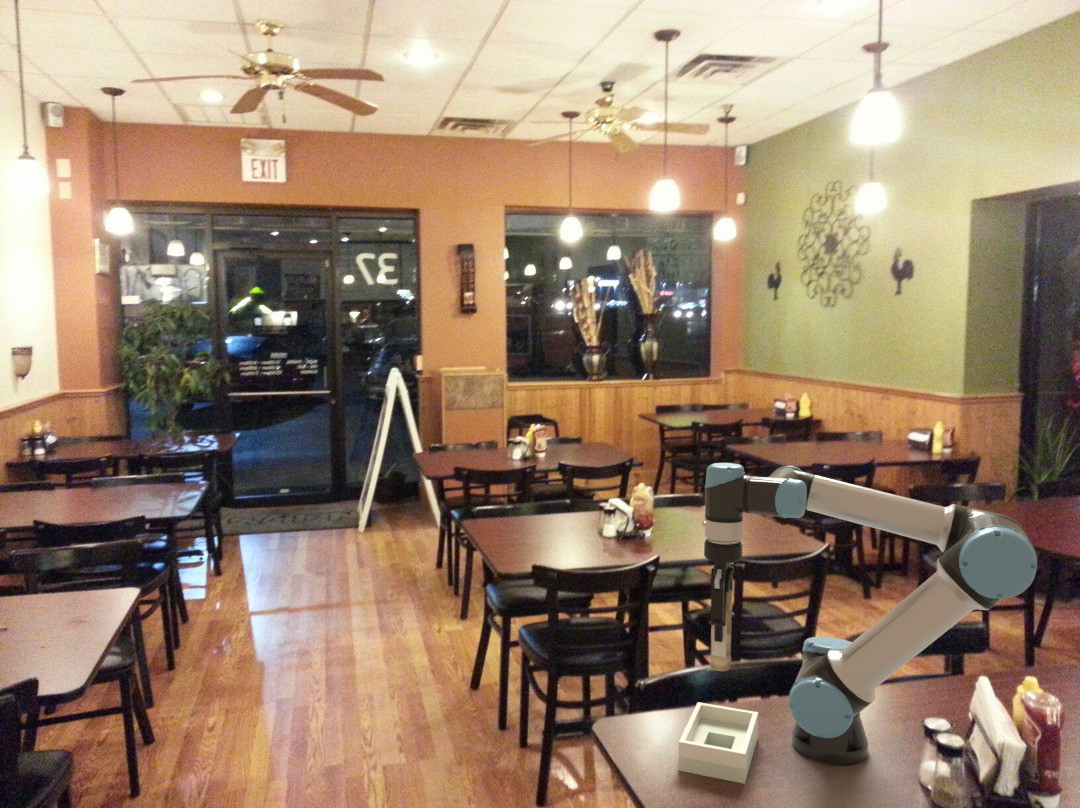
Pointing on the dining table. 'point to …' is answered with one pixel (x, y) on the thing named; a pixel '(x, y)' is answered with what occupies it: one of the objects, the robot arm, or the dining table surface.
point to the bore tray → (719, 742)
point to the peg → (724, 662)
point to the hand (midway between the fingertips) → (720, 651)
